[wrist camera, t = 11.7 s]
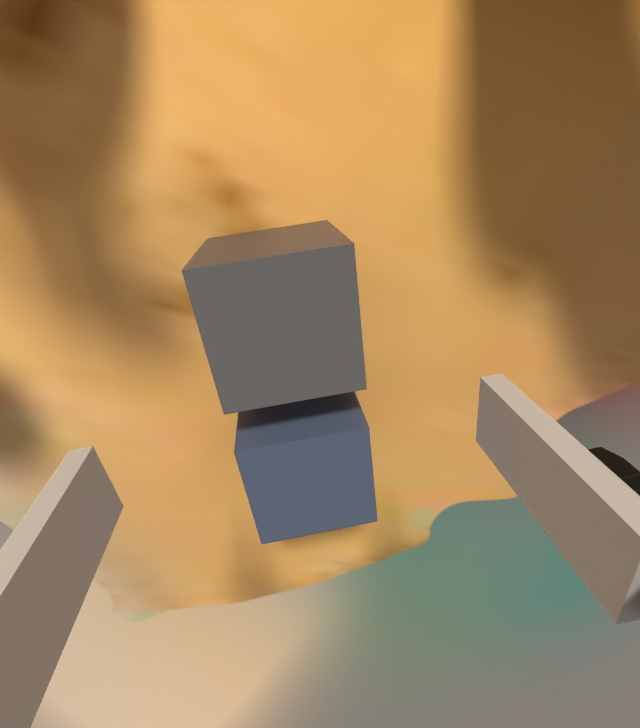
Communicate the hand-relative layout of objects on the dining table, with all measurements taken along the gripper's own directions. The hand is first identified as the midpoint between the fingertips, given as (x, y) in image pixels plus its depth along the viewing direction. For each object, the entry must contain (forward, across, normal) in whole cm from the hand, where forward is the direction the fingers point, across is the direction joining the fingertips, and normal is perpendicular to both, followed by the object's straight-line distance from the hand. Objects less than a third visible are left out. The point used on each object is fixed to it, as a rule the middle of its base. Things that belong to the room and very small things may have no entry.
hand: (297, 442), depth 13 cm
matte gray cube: (+20, 0, 0) cm, 20 cm away
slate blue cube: (+20, 0, -12) cm, 23 cm away
